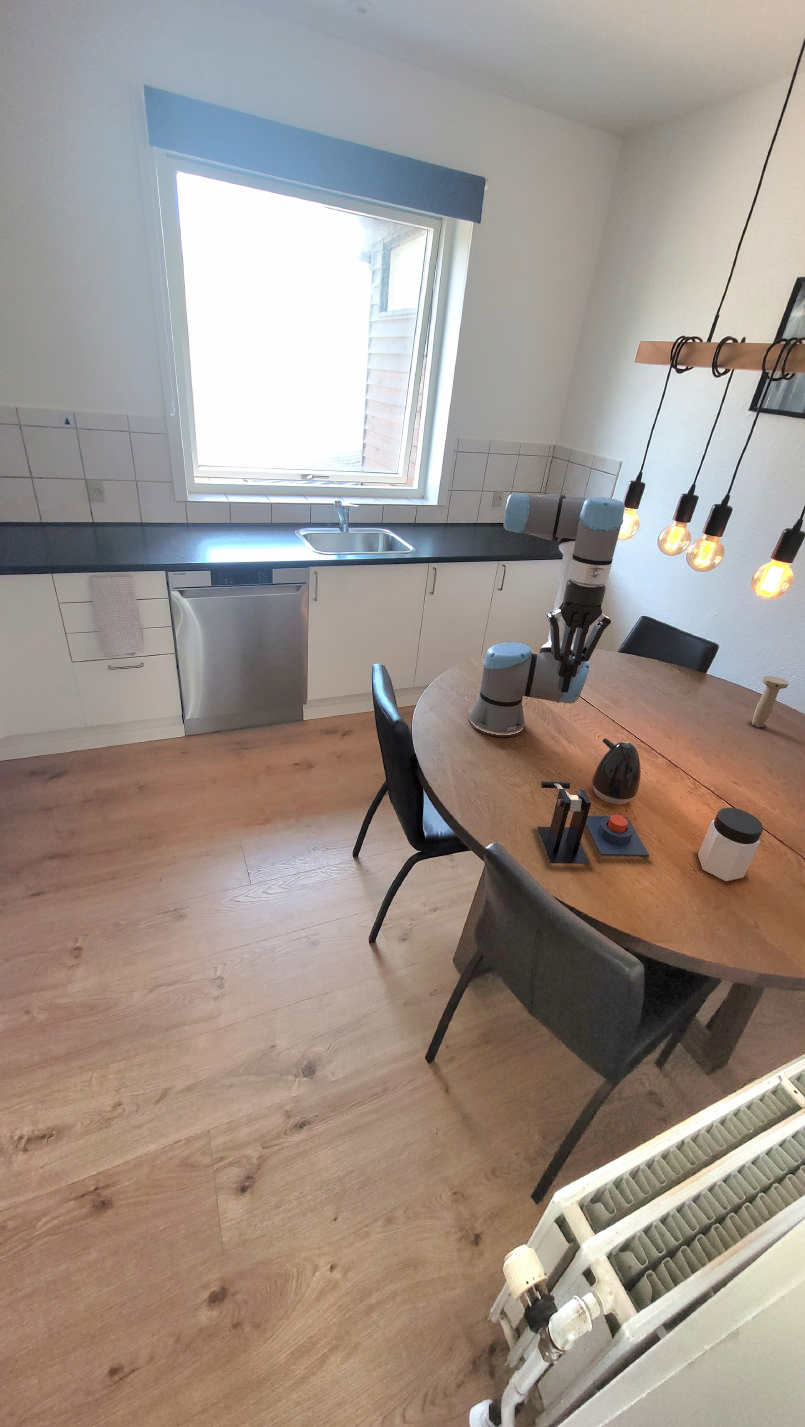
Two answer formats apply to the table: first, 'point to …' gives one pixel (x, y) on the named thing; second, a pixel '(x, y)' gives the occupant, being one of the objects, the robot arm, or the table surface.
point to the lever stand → (566, 831)
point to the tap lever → (574, 799)
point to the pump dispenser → (617, 773)
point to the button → (618, 823)
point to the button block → (614, 838)
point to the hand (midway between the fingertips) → (562, 689)
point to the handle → (768, 699)
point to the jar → (730, 844)
